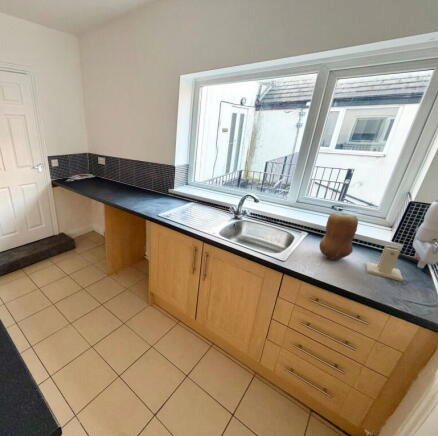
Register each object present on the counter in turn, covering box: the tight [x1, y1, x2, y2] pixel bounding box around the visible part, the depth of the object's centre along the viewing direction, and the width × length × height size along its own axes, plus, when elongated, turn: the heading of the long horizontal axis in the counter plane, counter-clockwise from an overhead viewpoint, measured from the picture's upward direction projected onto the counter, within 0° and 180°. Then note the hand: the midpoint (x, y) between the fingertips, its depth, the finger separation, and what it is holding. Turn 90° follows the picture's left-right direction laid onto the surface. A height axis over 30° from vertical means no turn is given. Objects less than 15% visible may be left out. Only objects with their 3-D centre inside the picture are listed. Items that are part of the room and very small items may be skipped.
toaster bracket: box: [365, 244, 404, 282], centre depth 113 cm, size 12×10×13 cm
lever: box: [388, 247, 421, 263], centre depth 109 cm, size 12×5×2 cm, turn 53°
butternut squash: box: [319, 212, 359, 261], centre depth 122 cm, size 14×13×25 cm
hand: (418, 264), depth 107 cm, fingers closed on lever, 5 cm apart
